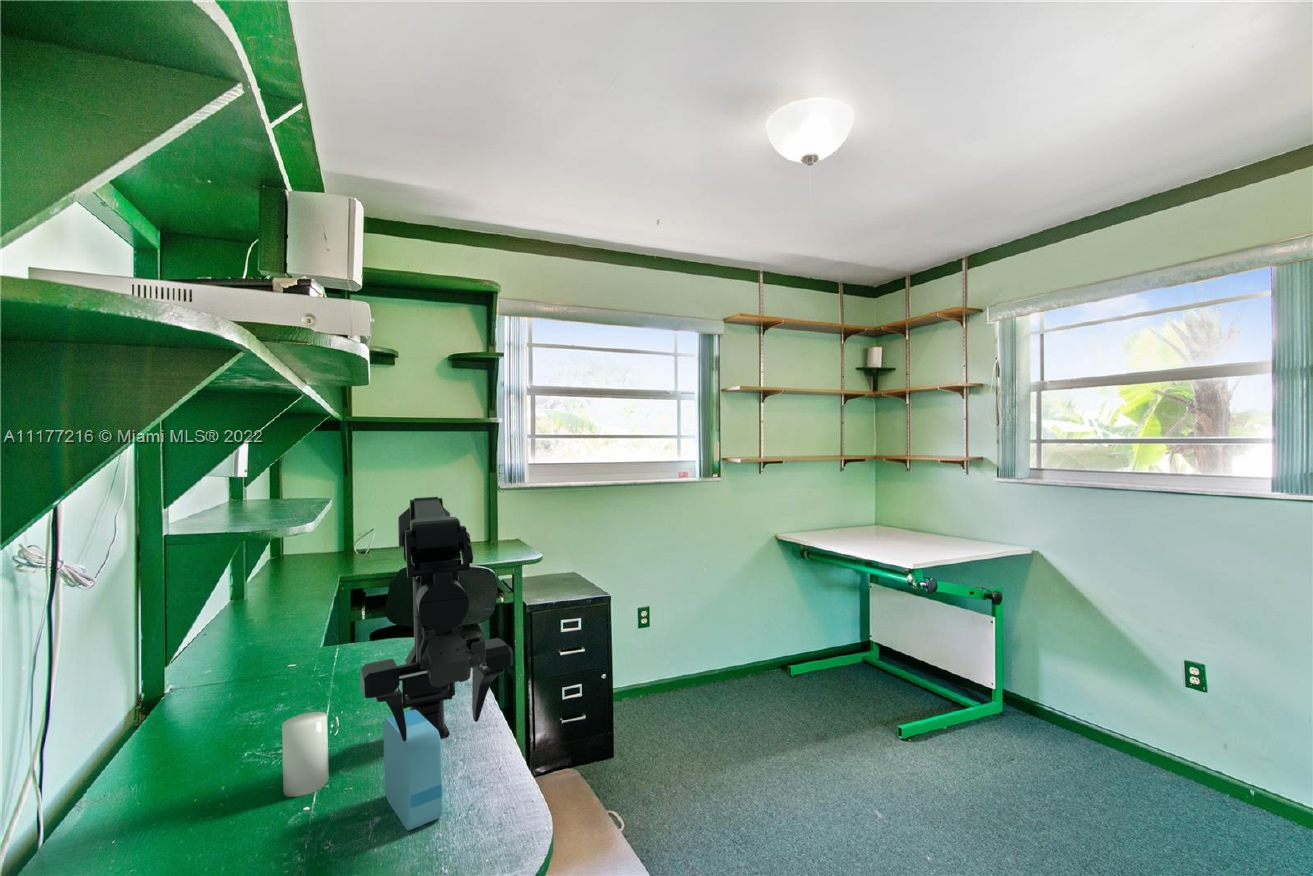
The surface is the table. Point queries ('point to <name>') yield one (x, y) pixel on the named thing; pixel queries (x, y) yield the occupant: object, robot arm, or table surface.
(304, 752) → the white rounded cylinder
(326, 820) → the table surface
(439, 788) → the light blue rounded block
